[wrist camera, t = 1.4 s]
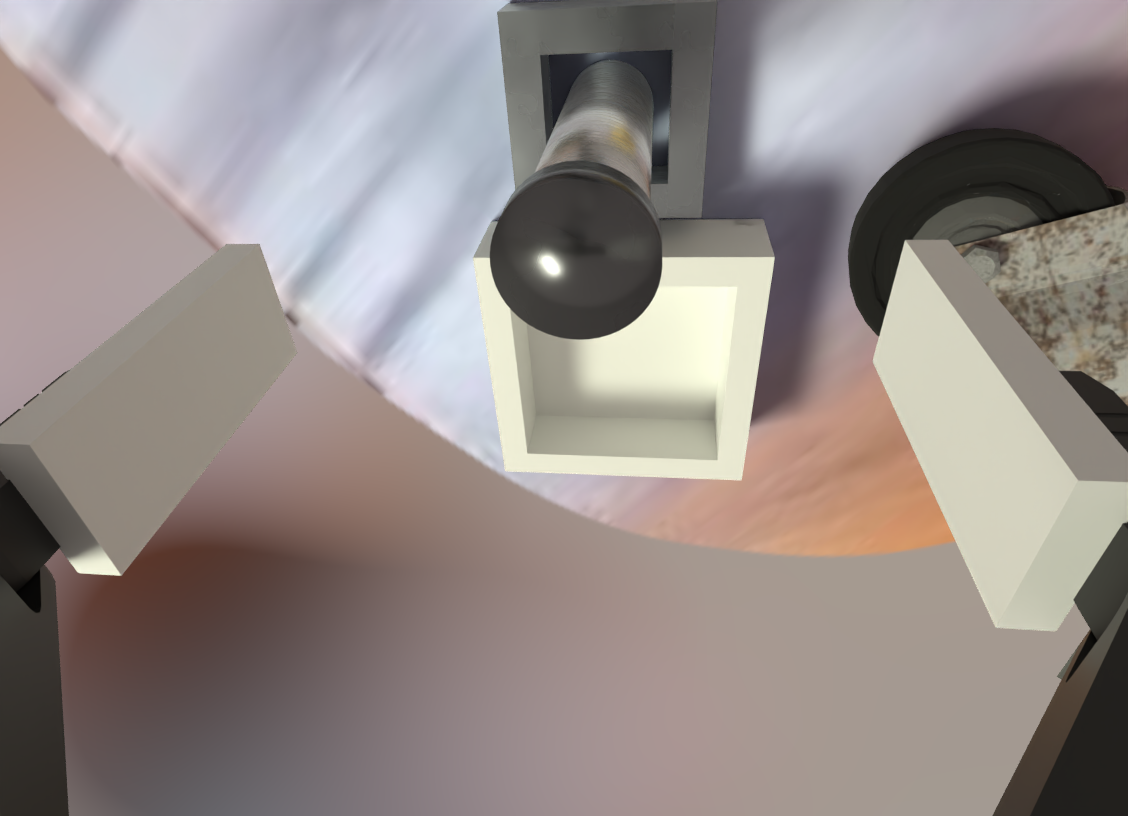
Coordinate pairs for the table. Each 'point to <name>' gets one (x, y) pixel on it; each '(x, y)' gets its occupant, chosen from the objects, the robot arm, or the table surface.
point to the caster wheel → (1010, 240)
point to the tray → (641, 366)
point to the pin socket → (614, 24)
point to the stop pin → (586, 214)
